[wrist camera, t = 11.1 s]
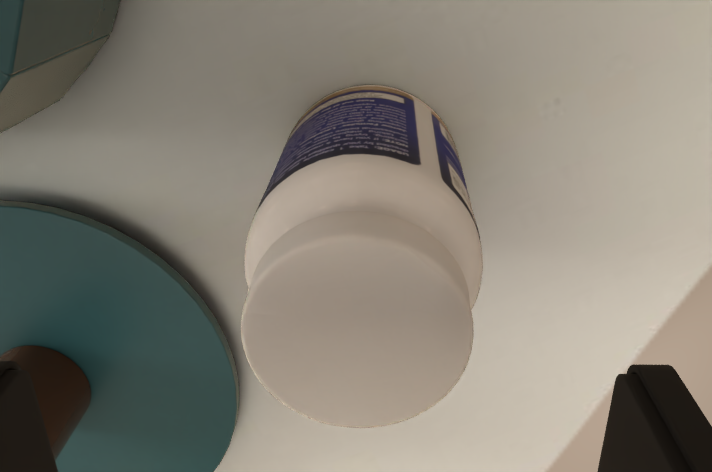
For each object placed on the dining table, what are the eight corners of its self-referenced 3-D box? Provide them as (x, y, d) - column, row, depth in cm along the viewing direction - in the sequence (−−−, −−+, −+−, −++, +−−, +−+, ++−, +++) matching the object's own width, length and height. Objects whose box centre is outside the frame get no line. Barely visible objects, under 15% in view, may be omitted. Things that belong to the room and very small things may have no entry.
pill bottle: (257, 195, 23) (168, 379, 14) (335, 46, 20) (289, 152, 11) (401, 271, 24) (405, 487, 15) (493, 136, 21) (563, 297, 12)
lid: (-198, 362, 27) (-364, 488, 21) (-13, 105, 22) (-165, 177, 16) (104, 551, 31) (35, 702, 25) (321, 373, 26) (298, 510, 20)
